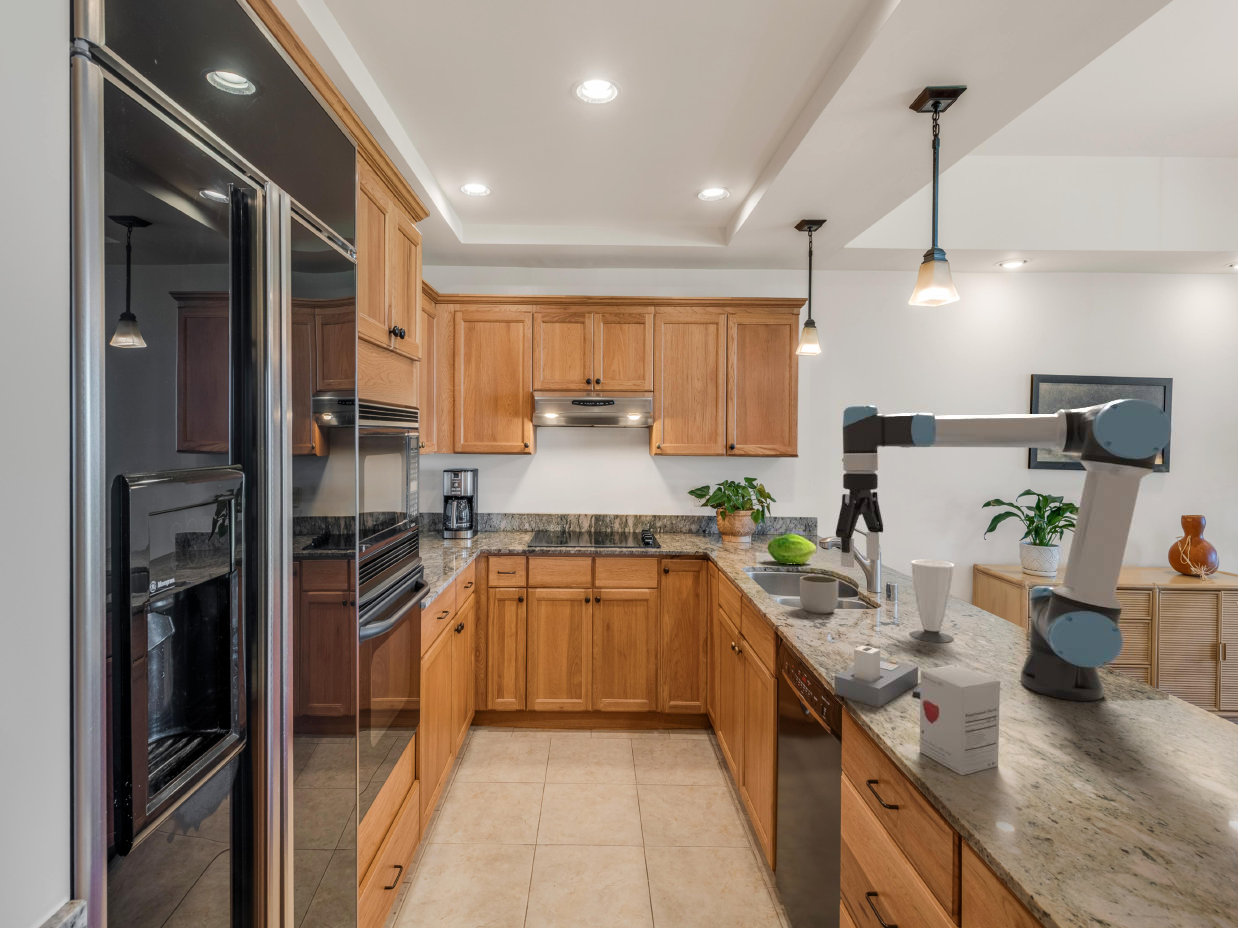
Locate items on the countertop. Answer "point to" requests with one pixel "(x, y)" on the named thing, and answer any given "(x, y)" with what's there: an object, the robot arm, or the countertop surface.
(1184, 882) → the countertop surface
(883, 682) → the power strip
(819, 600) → the planter
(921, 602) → the cup
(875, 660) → the block
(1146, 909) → the countertop surface
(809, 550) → the green oval fruit
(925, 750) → the supplement box
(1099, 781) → the countertop surface
